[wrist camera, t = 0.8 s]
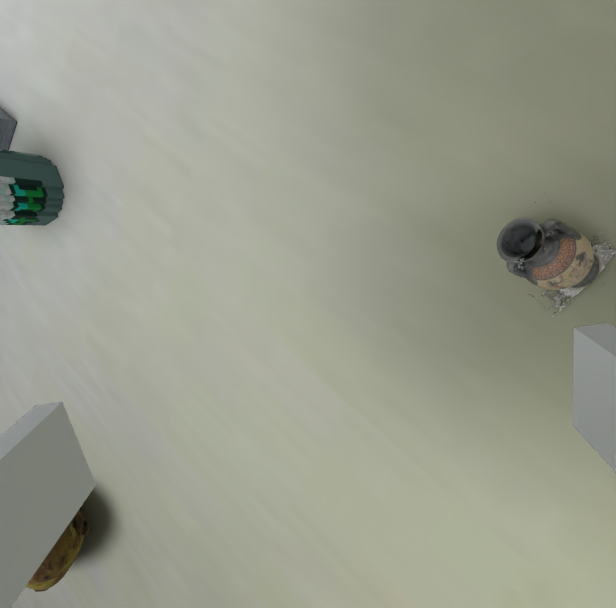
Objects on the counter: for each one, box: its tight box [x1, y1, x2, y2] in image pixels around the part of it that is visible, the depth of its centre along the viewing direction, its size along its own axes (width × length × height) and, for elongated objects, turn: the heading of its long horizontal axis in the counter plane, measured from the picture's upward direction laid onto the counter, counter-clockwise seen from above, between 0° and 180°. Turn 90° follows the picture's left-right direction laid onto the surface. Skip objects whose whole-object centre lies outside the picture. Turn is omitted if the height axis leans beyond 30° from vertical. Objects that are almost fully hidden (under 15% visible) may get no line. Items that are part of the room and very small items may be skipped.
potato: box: [26, 509, 90, 592], centre depth 44 cm, size 8×13×8 cm, turn 117°
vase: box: [497, 193, 616, 318], centre depth 24 cm, size 5×5×6 cm
